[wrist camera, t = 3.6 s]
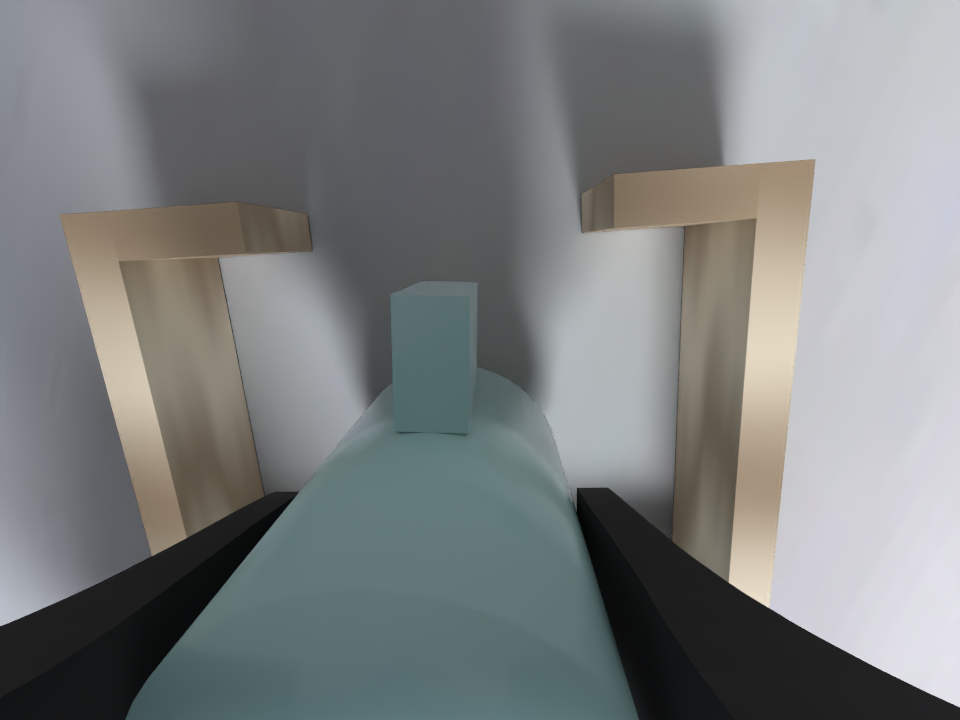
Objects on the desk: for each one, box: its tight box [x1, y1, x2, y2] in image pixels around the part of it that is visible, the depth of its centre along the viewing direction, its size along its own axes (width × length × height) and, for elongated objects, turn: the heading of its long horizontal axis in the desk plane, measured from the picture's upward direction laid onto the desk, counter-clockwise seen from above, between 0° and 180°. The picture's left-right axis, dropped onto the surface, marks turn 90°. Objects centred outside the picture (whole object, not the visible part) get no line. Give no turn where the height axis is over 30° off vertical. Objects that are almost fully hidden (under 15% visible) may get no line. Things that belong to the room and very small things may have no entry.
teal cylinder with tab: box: [125, 281, 639, 720], centre depth 8 cm, size 6×8×8 cm
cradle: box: [60, 159, 815, 608], centre depth 12 cm, size 14×15×4 cm
